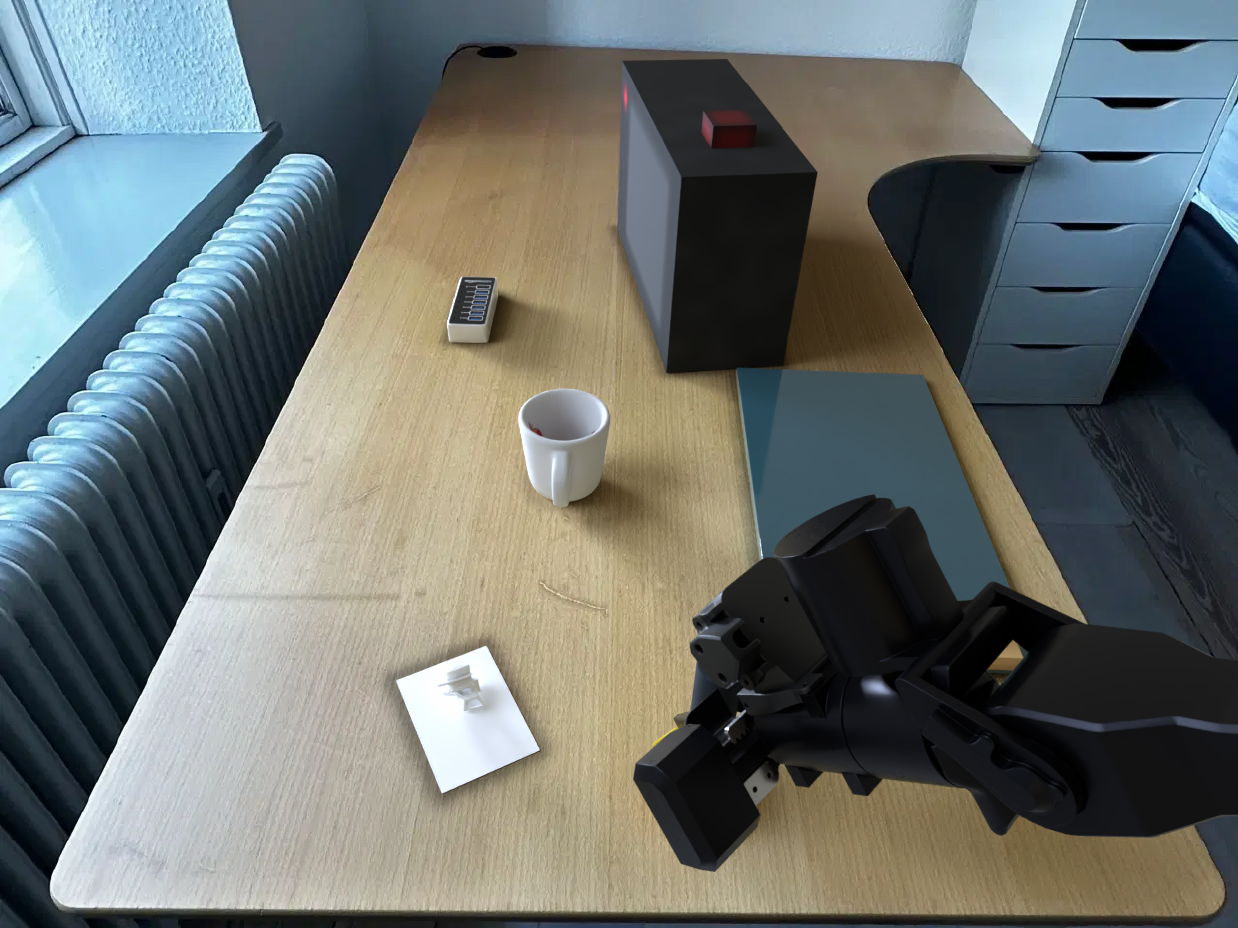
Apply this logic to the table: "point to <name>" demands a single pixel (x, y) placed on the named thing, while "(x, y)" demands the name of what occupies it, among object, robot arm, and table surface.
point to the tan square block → (1008, 658)
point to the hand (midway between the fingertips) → (695, 708)
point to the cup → (564, 443)
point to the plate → (860, 462)
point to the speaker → (710, 213)
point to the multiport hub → (473, 310)
